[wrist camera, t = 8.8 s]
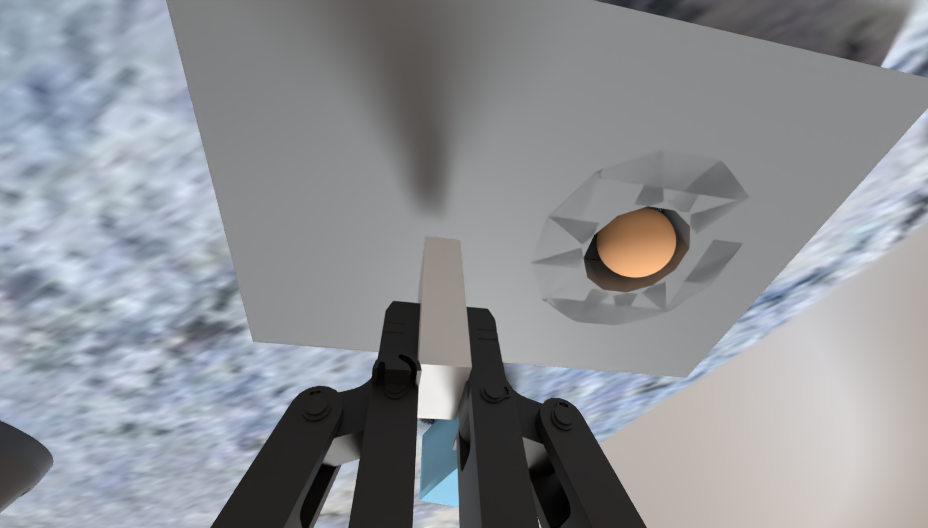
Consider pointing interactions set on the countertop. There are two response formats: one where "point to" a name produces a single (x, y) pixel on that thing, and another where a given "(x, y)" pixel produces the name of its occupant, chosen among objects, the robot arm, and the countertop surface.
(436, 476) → the light blue teapot
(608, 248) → the ball
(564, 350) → the plate
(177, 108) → the countertop surface
